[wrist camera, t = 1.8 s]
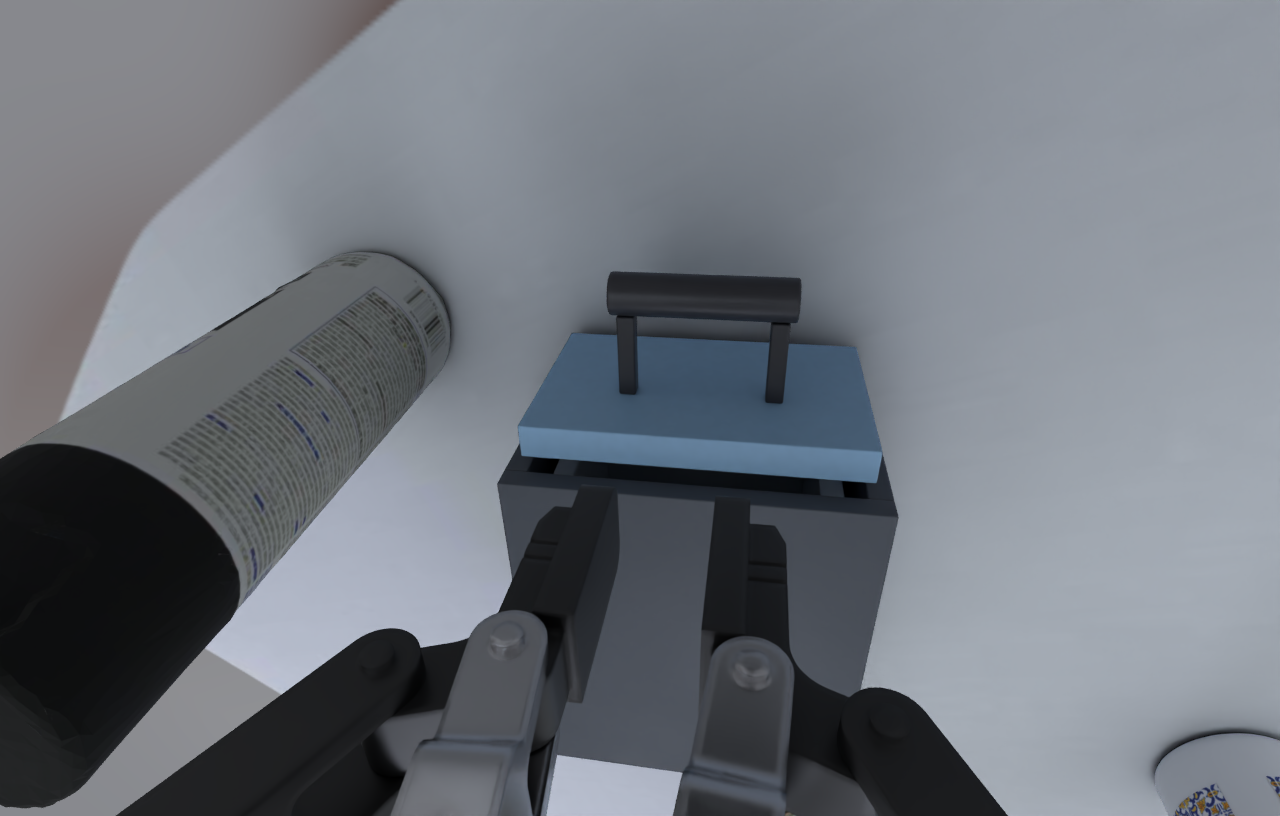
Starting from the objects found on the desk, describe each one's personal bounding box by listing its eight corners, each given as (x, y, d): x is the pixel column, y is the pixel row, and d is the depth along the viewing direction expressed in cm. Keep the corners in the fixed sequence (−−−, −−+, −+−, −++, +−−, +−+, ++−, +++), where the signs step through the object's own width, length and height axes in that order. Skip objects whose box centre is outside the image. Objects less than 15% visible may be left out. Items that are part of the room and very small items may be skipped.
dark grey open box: (566, 358, 30) (496, 483, 22) (863, 374, 28) (898, 517, 21) (586, 597, 38) (539, 752, 30) (822, 622, 36) (837, 795, 28)
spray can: (325, 218, 28) (-321, 545, 12) (476, 288, 29) (69, 698, 12) (303, 347, 32) (-217, 742, 15) (439, 407, 33) (83, 854, 16)
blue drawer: (563, 229, 26) (500, 301, 20) (873, 237, 25) (908, 318, 18) (590, 572, 35) (552, 695, 29) (817, 595, 34) (828, 730, 27)
